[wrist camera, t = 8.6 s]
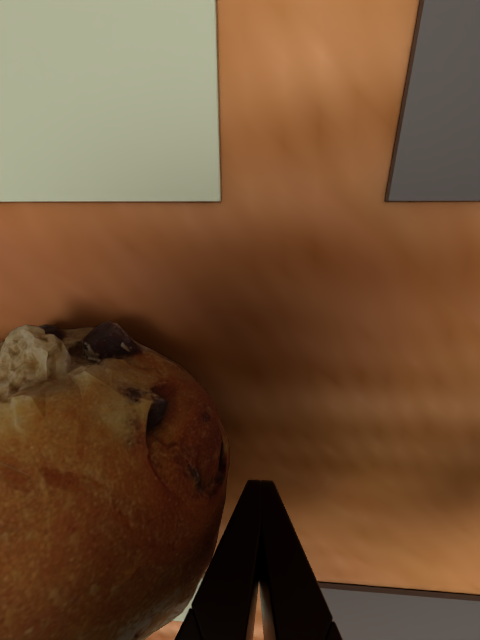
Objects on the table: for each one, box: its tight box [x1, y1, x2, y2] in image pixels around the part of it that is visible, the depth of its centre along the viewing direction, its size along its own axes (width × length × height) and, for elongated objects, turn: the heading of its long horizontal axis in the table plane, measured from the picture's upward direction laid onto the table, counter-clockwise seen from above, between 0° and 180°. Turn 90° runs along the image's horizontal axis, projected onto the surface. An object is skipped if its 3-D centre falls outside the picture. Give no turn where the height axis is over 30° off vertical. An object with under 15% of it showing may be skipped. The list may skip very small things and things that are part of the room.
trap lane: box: [0, 0, 480, 640], centre depth 9 cm, size 28×26×2 cm
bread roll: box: [0, 321, 230, 640], centre depth 9 cm, size 10×10×8 cm
